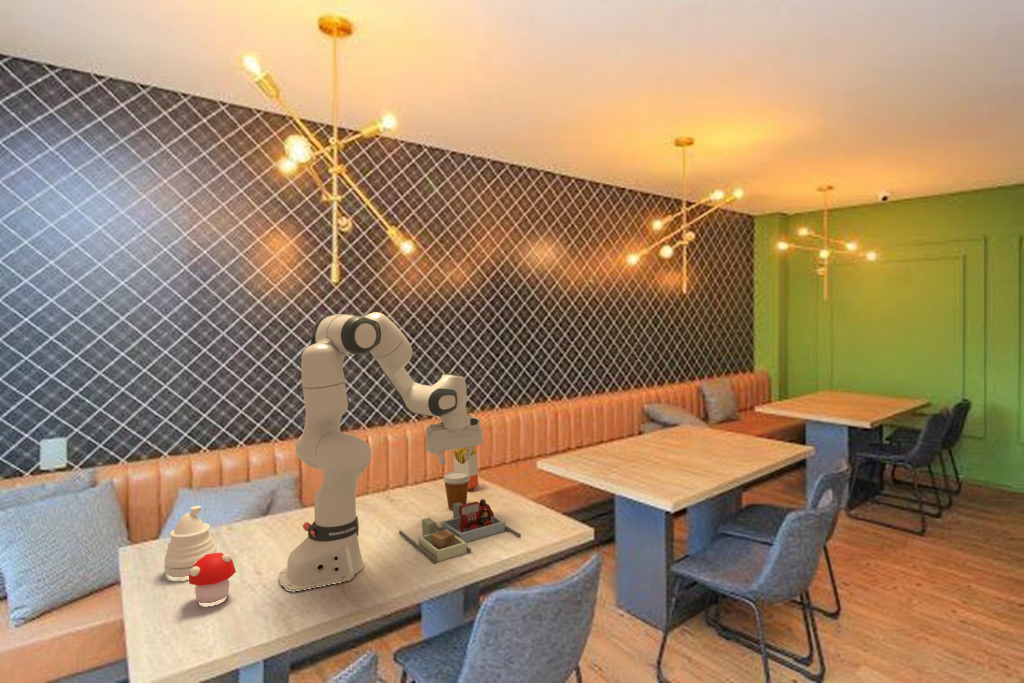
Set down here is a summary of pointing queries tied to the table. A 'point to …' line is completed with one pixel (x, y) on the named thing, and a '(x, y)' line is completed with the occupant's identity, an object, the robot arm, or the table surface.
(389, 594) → the table surface
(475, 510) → the toy fire truck
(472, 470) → the french fries container
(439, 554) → the cube lane
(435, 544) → the walnut cube
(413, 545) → the lane rails
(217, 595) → the mushroom
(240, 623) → the table surface
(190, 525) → the honey pot
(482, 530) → the grey open rectangular tray
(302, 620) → the table surface
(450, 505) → the disposable coffee cup
